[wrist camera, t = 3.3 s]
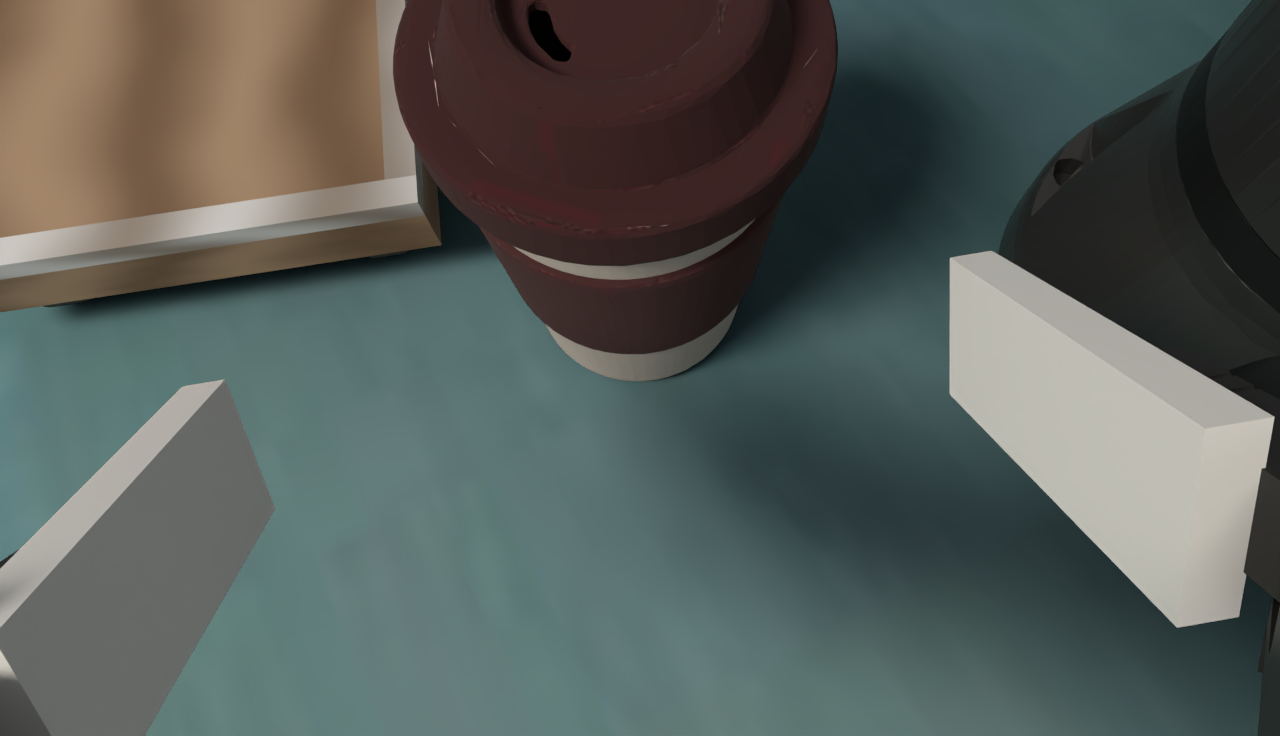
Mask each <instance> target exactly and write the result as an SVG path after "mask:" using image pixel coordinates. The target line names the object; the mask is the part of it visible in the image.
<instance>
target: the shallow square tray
mask: <svg viewBox="0 0 1280 736" xmlns="http://www.w3.org/2000/svg"><path fill="white" fill-rule="evenodd" d="M407 2H408V0H0V312H5V311H12V310H19V309H25V308H32V307H38V306H44V307H55V306H62V305H69V304H75V303H82V302H87V301H89V300H91V299H92V298H98V297H104V296H111V295H117V294H124V293H130V292H137V291H144V290H150V289H157V288H163V287H170V286H177V285H183V284H190V283H196V282H203V281H209V280H216V279H223V278H229V277H236V276H242V275H249V274H256V273H262V272H269V271H275V270H282V269H288V268H295V267H302V266H308V265H315V264H321V263H328V262H335V261H341V260H348V259H354V258H361V257H368V256H369V257H370V258H378V257H385V256H391V255H398V254H404V253H406V252H407V251H408V250H414V249H420V248H427V247H433V246H440V245H442V243H441V230H440V216H439V203H438V189H437V184H436V183H435V181H434V180H433V179H432V177H431V175H430V173H429V172H428V170H427V168H426V166H425V165H424V163H423V161H422V159H421V157H420V155H419V153H418V151H417V149H416V147H415V145H414V143H413V141H412V139H411V137H410V135H409V132H408V130H407V128H406V126H405V124H404V121H403V119H402V116H401V113H400V110H399V106H398V101H397V97H396V93H395V86H394V79H393V53H394V45H395V38H396V34H397V30H398V26H399V23H400V20H401V17H402V14H403V11H404V9H405V6H406V4H407Z"/></svg>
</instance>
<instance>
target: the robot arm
mask: <svg viewBox="0 0 1280 736" xmlns="http://www.w3.org/2000/svg"><path fill="white" fill-rule="evenodd" d="M950 395H951V396H952V397H953V398H954V399H955V400H956V401H957V402H958V403H959V404H960V405H961V406H962V407H963V408H964V409H965V411H966V412H967V413H968V414H969V415H970V416H971V417H972V418H973V419H974V420H975V421H976V422H977V423H978V424H979V425H980V426H981V427H982V428H983V429H984V430H985V431H986V432H987V433H988V434H989V435H990V436H991V437H992V438H993V439H994V440H995V441H996V442H997V443H998V444H999V445H1000V446H1001V447H1002V449H1003V450H1004V451H1005V452H1006V453H1007V454H1008V455H1009V456H1010V457H1011V458H1012V459H1013V460H1014V461H1015V462H1016V463H1017V464H1018V465H1019V466H1020V467H1021V468H1022V469H1023V470H1024V471H1025V472H1026V473H1027V474H1028V475H1029V476H1030V477H1031V478H1032V479H1033V480H1034V481H1035V482H1036V483H1037V484H1038V486H1039V487H1040V488H1041V489H1042V490H1043V491H1044V492H1045V493H1046V494H1047V495H1048V496H1049V497H1050V498H1051V499H1052V500H1053V501H1054V502H1055V503H1056V504H1057V505H1058V506H1059V507H1060V508H1061V509H1062V510H1063V511H1064V512H1065V513H1066V514H1067V515H1068V516H1069V517H1070V518H1071V519H1072V520H1073V521H1074V522H1075V524H1076V525H1077V526H1078V527H1079V528H1080V529H1081V530H1082V531H1083V532H1084V533H1085V534H1086V535H1087V536H1088V537H1089V538H1090V539H1091V540H1092V541H1093V542H1094V543H1095V544H1096V545H1097V546H1098V547H1099V548H1100V549H1101V550H1102V551H1103V552H1104V553H1105V554H1106V555H1107V556H1108V557H1109V558H1110V559H1111V561H1112V562H1113V563H1114V564H1115V565H1116V566H1117V567H1118V568H1119V569H1120V570H1121V571H1122V572H1123V573H1124V574H1125V575H1126V576H1127V577H1128V578H1129V579H1130V580H1131V581H1132V582H1133V583H1134V584H1135V585H1136V586H1137V587H1138V588H1139V589H1140V590H1141V591H1142V592H1143V593H1144V594H1145V595H1146V596H1147V597H1148V599H1149V600H1150V601H1151V602H1152V603H1153V604H1154V605H1155V606H1156V607H1157V608H1158V609H1159V610H1160V611H1161V612H1162V613H1163V614H1164V615H1165V616H1166V617H1167V618H1168V619H1169V620H1170V621H1171V622H1172V623H1173V624H1174V625H1175V626H1176V627H1177V628H1179V627H1184V626H1190V625H1196V624H1202V623H1207V622H1213V621H1219V620H1225V619H1230V618H1236V617H1239V613H1240V608H1241V602H1242V597H1243V591H1244V586H1245V580H1246V575H1247V576H1248V577H1250V578H1251V579H1252V580H1253V581H1254V582H1256V583H1257V584H1258V585H1259V586H1260V587H1261V588H1263V589H1264V590H1265V591H1266V592H1267V593H1269V594H1270V595H1271V596H1272V601H1271V606H1270V611H1269V616H1268V621H1267V626H1266V631H1265V636H1264V641H1263V646H1262V651H1261V656H1260V661H1259V667H1258V671H1259V672H1263V679H1262V691H1261V703H1260V715H1259V727H1258V736H1280V0H1252V1H1251V2H1250V4H1249V5H1248V6H1247V7H1246V8H1245V10H1244V11H1243V12H1242V13H1241V14H1240V16H1239V17H1238V18H1237V19H1236V20H1235V21H1234V23H1233V24H1232V25H1231V27H1230V28H1229V29H1228V30H1227V32H1226V33H1225V34H1224V35H1223V36H1222V37H1221V39H1220V40H1219V41H1218V42H1217V43H1216V44H1215V46H1214V47H1213V48H1212V49H1211V50H1210V51H1209V53H1208V54H1207V55H1206V56H1205V57H1204V58H1203V59H1202V60H1201V61H1199V62H1197V63H1196V64H1194V65H1192V66H1190V67H1189V68H1187V69H1185V70H1183V71H1182V72H1180V73H1178V74H1177V75H1175V76H1173V77H1171V78H1170V79H1168V80H1166V81H1164V82H1163V83H1161V84H1159V85H1157V86H1156V87H1154V88H1152V89H1150V90H1149V91H1147V92H1145V93H1143V94H1142V95H1140V96H1138V97H1137V98H1135V99H1133V100H1131V101H1130V102H1128V103H1126V104H1124V105H1123V106H1121V107H1119V108H1117V109H1116V110H1114V111H1112V112H1110V113H1109V114H1107V115H1105V116H1103V117H1102V118H1100V119H1098V120H1097V121H1095V122H1093V123H1092V124H1090V125H1089V126H1088V127H1086V128H1085V129H1083V130H1082V131H1081V132H1079V133H1078V134H1077V135H1076V136H1074V137H1073V138H1072V139H1071V140H1070V141H1069V142H1067V143H1066V144H1065V145H1064V146H1063V147H1062V148H1061V149H1060V150H1059V151H1058V152H1057V153H1056V154H1055V155H1054V156H1053V157H1052V158H1051V160H1050V161H1049V162H1048V163H1047V164H1046V166H1045V167H1044V168H1043V170H1042V171H1041V172H1040V174H1039V175H1038V176H1037V178H1036V179H1035V181H1034V182H1033V183H1032V185H1031V186H1030V187H1029V189H1028V190H1027V192H1026V193H1025V194H1024V196H1023V197H1022V199H1021V200H1020V202H1019V203H1018V205H1017V206H1016V208H1015V210H1014V212H1013V214H1012V215H1011V217H1010V220H1009V222H1008V224H1007V226H1006V229H1005V232H1004V235H1003V238H1002V241H1001V245H1000V249H999V253H998V254H997V253H995V252H993V251H987V252H981V253H975V254H969V255H963V256H957V257H951V258H950ZM274 510H275V507H274V505H273V502H272V500H271V497H270V494H269V492H268V489H267V487H266V484H265V481H264V479H263V476H262V474H261V471H260V469H259V466H258V463H257V461H256V458H255V456H254V453H253V450H252V448H251V445H250V443H249V440H248V437H247V435H246V432H245V430H244V427H243V424H242V422H241V419H240V417H239V414H238V412H237V409H236V406H235V404H234V401H233V399H232V396H231V393H230V391H229V388H228V386H227V383H226V380H225V379H224V380H218V381H213V382H207V383H201V384H195V385H189V386H183V387H181V388H180V389H179V390H178V391H177V392H176V393H175V394H174V395H173V396H172V397H171V398H170V399H169V400H168V401H167V402H166V403H165V404H164V405H163V406H162V407H161V408H160V409H159V410H158V411H157V412H156V413H155V414H154V415H153V416H152V417H151V418H150V419H149V420H148V421H147V422H146V423H145V424H144V425H143V426H142V427H141V428H140V429H139V430H138V431H137V432H136V433H135V434H134V435H133V436H132V437H131V438H130V439H129V440H128V441H127V442H126V443H125V444H124V445H123V446H122V447H121V448H120V449H119V450H118V451H117V452H116V453H115V454H114V455H113V456H112V457H111V458H110V459H109V460H108V461H107V462H106V463H105V464H104V465H103V466H102V467H101V468H100V469H99V470H98V471H97V472H96V473H95V474H94V475H93V476H92V477H91V478H90V479H89V480H88V481H87V482H86V483H85V484H84V485H83V486H82V487H81V488H80V489H79V490H78V491H77V492H76V493H75V494H74V495H73V496H72V497H71V498H70V499H69V500H68V501H67V502H66V503H65V504H64V505H63V506H62V507H61V508H60V509H59V510H58V511H57V512H56V513H55V514H54V515H53V516H52V517H51V518H50V519H49V520H48V521H47V522H46V523H45V524H44V525H43V526H42V527H41V528H40V529H39V530H38V531H37V532H36V533H35V534H34V535H33V536H32V537H31V538H30V539H29V540H28V541H27V542H26V543H25V544H24V545H23V546H22V547H21V548H20V549H19V550H17V551H16V552H14V553H13V554H11V555H10V556H8V557H7V558H5V559H4V560H2V561H1V562H0V736H145V734H146V732H147V730H148V729H149V727H150V725H151V724H152V722H153V720H154V718H155V717H156V715H157V713H158V711H159V710H160V708H161V706H162V704H163V703H164V701H165V699H166V697H167V696H168V694H169V692H170V691H171V689H172V687H173V685H174V684H175V682H176V680H177V678H178V677H179V675H180V673H181V671H182V670H183V668H184V666H185V664H186V663H187V661H188V659H189V658H190V656H191V654H192V652H193V651H194V649H195V647H196V645H197V644H198V642H199V640H200V638H201V637H202V635H203V633H204V632H205V630H206V628H207V626H208V625H209V623H210V621H211V619H212V618H213V616H214V614H215V612H216V611H217V609H218V607H219V605H220V604H221V602H222V600H223V599H224V597H225V595H226V593H227V592H228V590H229V588H230V586H231V585H232V583H233V581H234V579H235V578H236V576H237V574H238V572H239V571H240V569H241V567H242V566H243V564H244V562H245V560H246V559H247V557H248V555H249V553H250V552H251V550H252V548H253V546H254V545H255V543H256V541H257V539H258V538H259V536H260V534H261V533H262V531H263V529H264V527H265V526H266V524H267V522H268V520H269V519H270V517H271V515H272V513H273V512H274Z"/></svg>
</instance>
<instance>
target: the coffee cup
mask: <svg viewBox="0 0 1280 736" xmlns="http://www.w3.org/2000/svg"><path fill="white" fill-rule="evenodd" d="M837 56H838V43H837V32H836V25H835V20H834V15H833V11H832V7H831V4H830V2H829V0H408V2H407V4H406V6H405V9H404V11H403V14H402V17H401V20H400V23H399V26H398V30H397V34H396V38H395V45H394V53H393V79H394V86H395V93H396V97H397V101H398V106H399V110H400V113H401V116H402V119H403V121H404V124H405V126H406V128H407V130H408V132H409V135H410V137H411V139H412V141H413V143H414V145H415V147H416V149H417V151H418V153H419V155H420V157H421V159H422V161H423V163H424V165H425V166H426V168H427V170H428V172H429V173H430V175H431V177H432V179H433V180H434V181H435V183H436V184H437V185H438V187H439V188H440V189H441V191H442V192H443V193H444V195H445V196H446V197H447V198H448V199H449V200H450V201H451V202H452V204H453V205H454V206H455V207H456V208H457V209H458V210H460V211H461V212H462V213H463V214H464V215H466V216H467V217H468V218H469V219H470V220H471V221H473V222H474V223H475V224H477V225H478V226H479V227H480V229H481V231H482V232H483V234H484V235H485V237H486V239H487V240H488V242H489V244H490V245H491V247H492V249H493V250H494V252H495V254H496V255H497V257H498V259H499V260H500V262H501V264H502V265H503V267H504V268H505V270H506V272H507V273H508V275H509V277H510V278H511V280H512V282H513V283H514V285H515V287H516V288H517V290H518V292H519V293H520V295H521V297H522V298H523V299H524V301H525V302H526V304H527V305H528V306H529V307H530V309H531V310H532V311H533V312H534V314H535V315H536V316H537V317H539V318H540V319H541V320H542V321H543V322H544V323H545V324H546V326H547V328H548V330H549V331H550V333H551V335H552V336H553V338H554V339H555V341H556V342H557V343H558V345H559V346H560V347H561V348H562V349H563V350H564V351H565V352H566V353H567V354H568V355H569V356H570V357H571V358H572V359H574V360H575V361H576V362H578V363H579V364H581V365H582V366H584V367H586V368H588V369H589V370H591V371H593V372H596V373H598V374H601V375H603V376H606V377H610V378H614V379H617V380H625V381H650V380H658V379H662V378H666V377H669V376H672V375H675V374H677V373H680V372H682V371H685V370H687V369H688V368H690V367H692V366H693V365H695V364H696V363H698V362H699V361H701V360H703V359H704V358H705V357H706V356H707V355H708V354H709V353H710V352H711V351H712V350H713V349H714V348H715V347H716V346H717V345H718V344H719V342H720V341H721V340H722V339H723V337H724V336H725V334H726V332H727V331H728V329H729V327H730V325H731V323H732V320H733V318H734V316H735V313H736V310H737V307H738V304H739V302H740V301H741V299H742V298H743V296H744V295H745V293H746V292H747V290H748V288H749V287H750V285H751V283H752V280H753V278H754V276H755V273H756V270H757V268H758V265H759V262H760V259H761V256H762V253H763V250H764V248H765V245H766V242H767V239H768V236H769V233H770V230H771V228H772V225H773V222H774V219H775V216H776V213H777V210H778V208H779V205H780V202H781V199H782V196H783V194H784V193H785V192H786V190H787V189H788V188H789V187H790V185H791V184H792V183H793V181H794V180H795V179H796V178H797V176H798V175H799V173H800V172H801V171H802V169H803V167H804V166H805V164H806V162H807V160H808V159H809V157H810V155H811V154H812V152H813V150H814V148H815V146H816V143H817V141H818V138H819V136H820V133H821V130H822V127H823V123H824V120H825V116H826V113H827V109H828V105H829V101H830V98H831V94H832V90H833V86H834V81H835V75H836V69H837Z"/></svg>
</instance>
